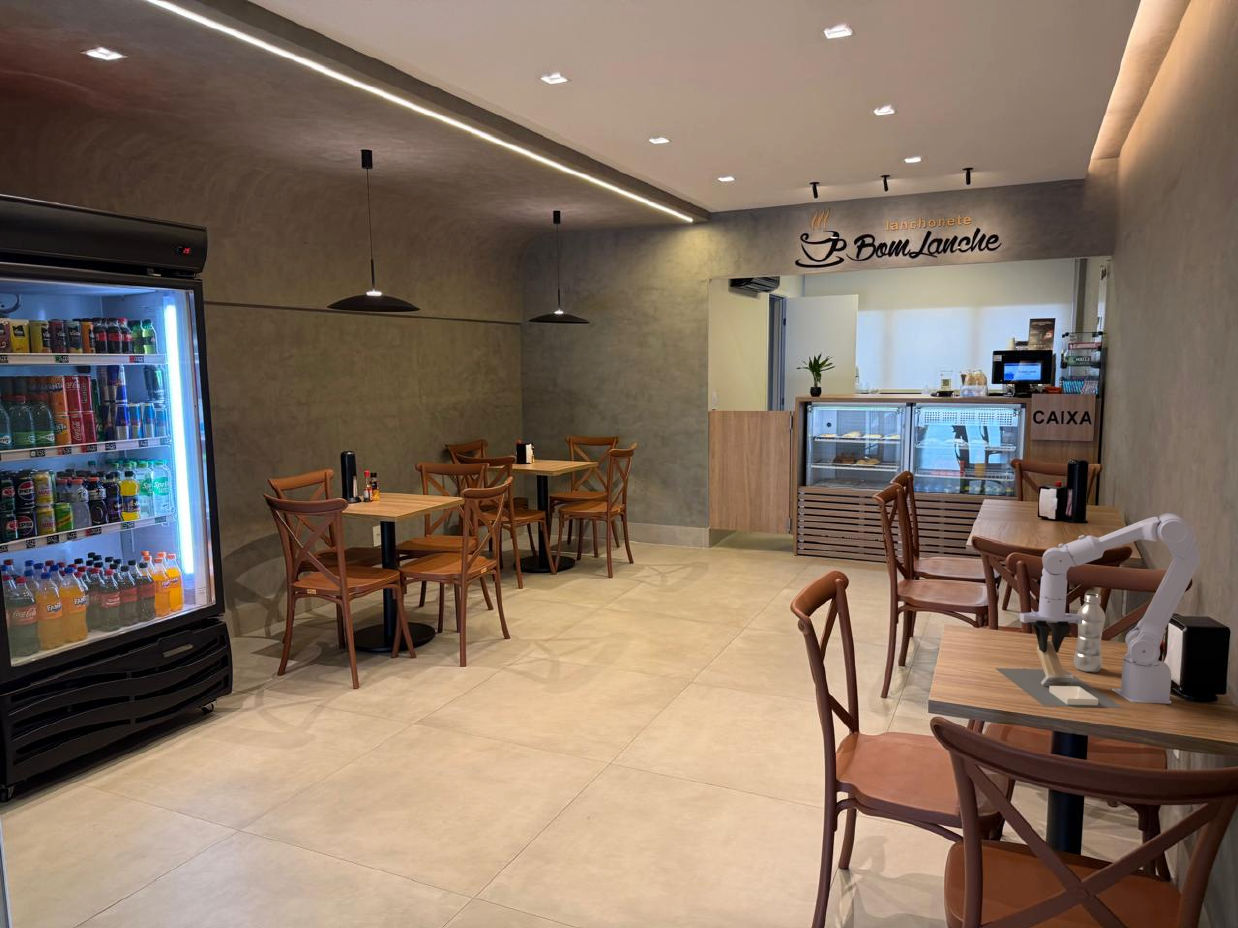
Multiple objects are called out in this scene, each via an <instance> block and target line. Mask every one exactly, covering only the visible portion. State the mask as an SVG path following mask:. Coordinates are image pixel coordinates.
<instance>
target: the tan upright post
mask: <svg viewBox="0 0 1238 928" xmlns="http://www.w3.org/2000/svg"><path fill="white" fill-rule="evenodd" d="M1035 651H1036V653H1037V656H1038V658H1039V662H1040V664H1041V666H1042V669H1043V670H1044V672H1045V675H1046V677H1045V678H1044V679H1043V681H1042V682H1041V684H1042V685H1048V686H1067V685H1068V684H1069V683H1070V681H1071V680H1072V679H1073V678H1074V677H1073V675H1074V674H1072V675H1065V673H1064V671H1063V670H1064V669H1063V666H1062V663H1061V661H1060V658H1059V656H1058V654H1057V653H1056V651H1055V648H1054V646H1053V643H1052V641H1051V640H1048V641H1047V651H1046V652H1042V651H1040V650H1039V644H1038V645H1037V647H1035Z"/></svg>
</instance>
